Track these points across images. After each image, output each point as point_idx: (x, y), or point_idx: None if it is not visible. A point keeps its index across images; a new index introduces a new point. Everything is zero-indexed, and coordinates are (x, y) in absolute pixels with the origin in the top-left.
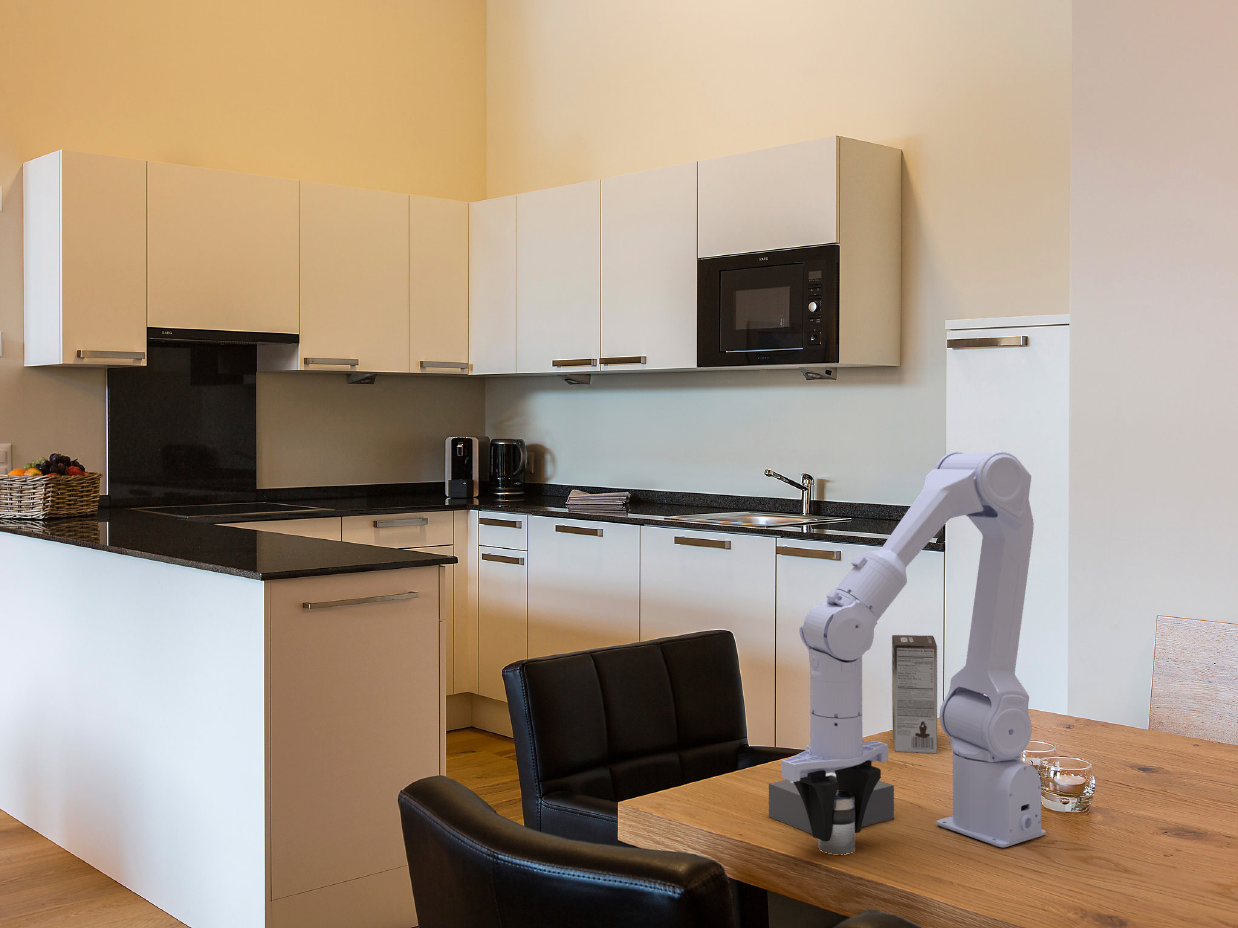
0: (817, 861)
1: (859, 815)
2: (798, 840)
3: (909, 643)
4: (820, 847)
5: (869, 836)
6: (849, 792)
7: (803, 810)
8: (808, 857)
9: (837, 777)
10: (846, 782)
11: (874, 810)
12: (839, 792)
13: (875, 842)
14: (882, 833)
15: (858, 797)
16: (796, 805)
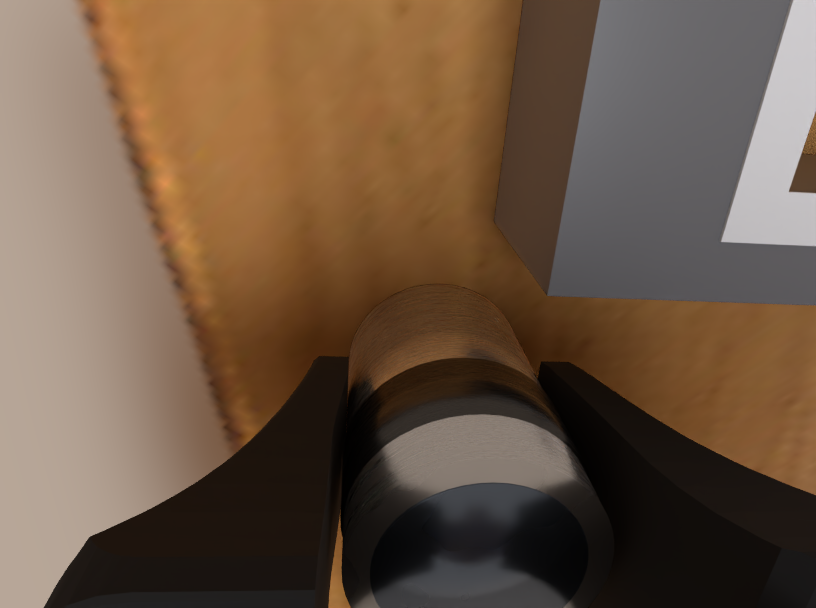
0: (250, 411)
1: None
2: (373, 172)
3: None
4: (354, 345)
5: (681, 337)
6: (604, 570)
7: (549, 85)
8: (248, 360)
9: (702, 512)
10: (663, 583)
11: None
12: (545, 546)
13: (631, 398)
14: (756, 344)
15: (598, 604)
16: (564, 5)
